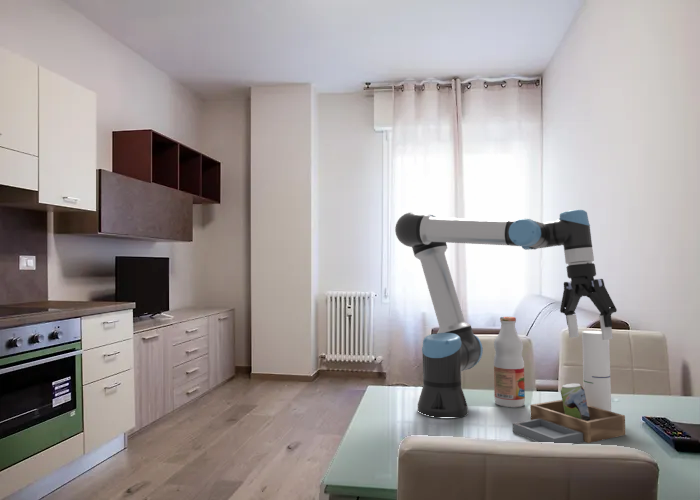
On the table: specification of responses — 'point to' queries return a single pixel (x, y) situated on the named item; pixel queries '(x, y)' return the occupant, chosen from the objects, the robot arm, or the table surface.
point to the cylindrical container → (596, 370)
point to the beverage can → (575, 401)
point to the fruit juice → (509, 366)
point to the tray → (547, 431)
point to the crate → (594, 430)
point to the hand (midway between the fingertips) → (590, 338)
